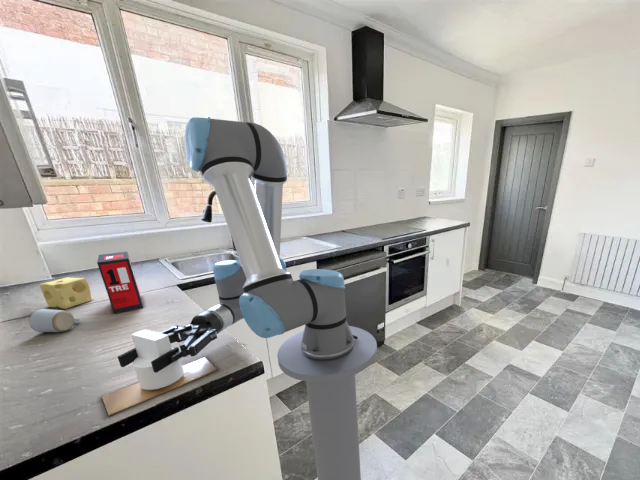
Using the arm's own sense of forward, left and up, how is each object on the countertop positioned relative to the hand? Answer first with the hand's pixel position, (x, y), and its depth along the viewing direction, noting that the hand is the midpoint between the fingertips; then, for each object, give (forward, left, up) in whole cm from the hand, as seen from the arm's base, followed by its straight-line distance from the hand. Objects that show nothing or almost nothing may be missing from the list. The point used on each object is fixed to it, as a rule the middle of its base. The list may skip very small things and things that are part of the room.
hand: (136, 364), depth 70 cm
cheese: (+41, -85, -8) cm, 95 cm away
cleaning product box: (+19, -72, -8) cm, 75 cm away
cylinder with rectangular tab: (-3, -3, -7) cm, 8 cm away
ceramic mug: (+34, -55, -8) cm, 65 cm away
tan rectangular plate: (-3, -3, -8) cm, 9 cm away
